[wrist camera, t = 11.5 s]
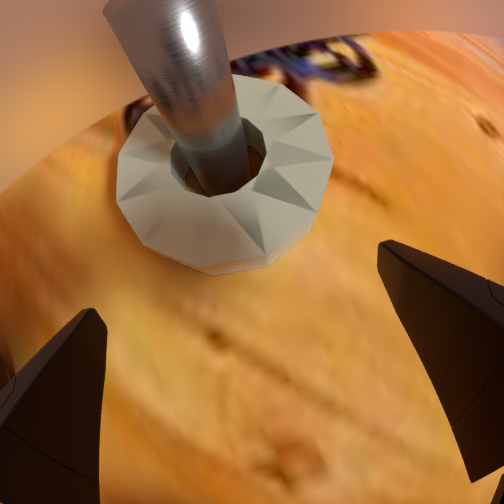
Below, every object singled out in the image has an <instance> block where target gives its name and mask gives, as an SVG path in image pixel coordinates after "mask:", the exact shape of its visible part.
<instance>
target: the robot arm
mask: <svg viewBox="0 0 504 504" xmlns="http://www.w3.org/2000/svg"><path fill="white" fill-rule="evenodd" d="M377 269H378V272H379V275H380V277H381V279H382V281H383V284H384V286H385V288H386V290H387V293H388V295H389V297H390V300H391V302H392V304H393V307H394V309H395V311H396V313H397V315H398V317H399V319H400V321H401V323H402V325H403V326H404V328H405V330H406V332H407V334H408V336H409V338H410V340H411V342H412V343H413V345H414V347H415V349H416V351H417V353H418V355H419V357H420V359H421V361H422V363H423V365H424V367H425V369H426V371H427V374H428V376H429V378H430V380H431V382H432V384H433V386H434V389H435V391H436V393H437V395H438V397H439V400H440V402H441V404H442V407H443V409H444V411H445V414H446V416H447V418H448V421H449V423H450V426H451V427H452V428H451V429H452V431H453V434H454V436H455V439H456V442H457V444H458V447H459V450H460V452H461V455H462V458H463V461H464V464H465V467H466V470H467V473H468V476H469V479H470V481H471V483H474V482H476V481H477V480H479V479H481V478H483V477H485V476H487V475H489V474H491V473H492V472H494V471H496V470H498V469H499V468H501V467H503V466H504V286H502V285H499V284H497V283H495V282H493V281H491V280H489V279H487V280H486V278H484V277H482V276H479V275H477V274H475V273H473V272H470V271H468V270H466V269H464V268H461V267H459V266H457V265H454V264H452V263H449V262H447V261H445V260H442V259H440V258H437V257H435V256H432V255H430V254H427V253H425V252H422V251H420V250H417V249H415V248H412V247H410V246H407V245H405V244H402V243H399V242H397V241H394V240H386V241H383V242H380V243H379V244H378V256H377ZM107 334H108V331H107V327H106V325H105V323H104V322H103V320H102V319H101V317H100V316H99V314H98V313H97V311H96V310H95V309H94V308H87V309H83V310H81V311H80V312H79V313H78V314H77V315H76V316H75V317H74V318H73V319H72V320H71V321H69V322H68V323H67V324H66V325H65V326H64V327H63V328H62V329H61V330H60V331H59V332H58V333H57V334H56V335H55V336H54V337H53V338H52V339H51V340H50V341H49V342H48V343H47V344H46V345H45V346H43V347H42V348H41V349H40V350H39V351H38V352H37V353H36V354H35V355H34V357H33V358H32V359H31V360H30V361H29V362H28V363H27V364H26V365H25V366H24V367H23V368H22V369H21V370H20V371H19V372H18V373H17V375H15V376H14V377H13V378H12V379H11V380H10V382H9V383H8V384H7V385H6V386H5V387H4V388H3V389H2V390H1V391H0V504H100V490H99V443H100V424H101V410H102V399H103V389H104V381H105V371H106V350H107ZM491 504H504V474H502V476H501V479H500V481H499V484H498V487H497V489H496V492H495V494H494V497H493V499H492V502H491Z"/></svg>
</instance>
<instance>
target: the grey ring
mask: <svg viewBox="0 0 504 504" xmlns="http://www.w3.org/2000/svg"><path fill="white" fill-rule="evenodd" d="M232 78H233V83H234V88H235V93H236V98H237V102H238V107H239V112H240V117H241V122H242V127H243V132H244V138H245V143H246V145H249V146H251V147H253V148H254V149H255V150H256V151H257V152H258V153H259V154H260V155H261V156H262V157H263V158H264V159H265V160H264V162H263V164H262V167H261V169H260V171H259V174H258V176H256V177H255V178H254V179H252V180H251V181H250V182H248V183H247V184H246V185H244V186H243V187H242V188H241V189H239V190H238V191H237V192H234V193H228V194H223V195H218V196H213V197H206V196H202V195H199V194H196V193H193V192H189V191H186V179H185V175H186V173H187V171H188V169H189V167H190V165H189V164H188V162H187V160H186V158H185V157H184V155H183V153H182V152H181V150H180V148H179V146H178V145H177V143H176V141H175V139H174V138H173V136H172V134H171V133H170V131H169V129H168V127H167V126H166V124H165V122H164V120H163V119H162V117H161V115H160V113H159V112H158V110H157V108H156V106H155V105H154V106H153V107H151V108H150V109H149V110H147V111H146V112H144V113H143V115H142V116H141V118H140V119H139V121H138V123H137V124H136V126H135V127H134V129H133V131H132V132H131V134H130V135H129V137H128V139H127V140H126V142H125V144H124V146H123V147H122V149H121V151H120V153H119V154H118V167H117V188H116V203H117V204H118V206H119V208H120V209H121V211H122V213H123V214H124V216H125V218H126V219H127V221H128V223H129V224H130V226H131V227H132V229H133V230H134V232H135V234H136V235H137V237H138V238H139V240H140V241H141V243H142V245H144V246H146V247H147V248H149V249H151V250H153V251H155V252H157V253H158V254H160V255H162V256H164V257H166V258H169V259H171V260H174V261H176V262H179V263H181V264H184V265H186V266H189V267H191V268H194V269H196V270H199V271H201V272H204V273H206V274H209V275H211V276H213V275H219V274H225V273H231V272H237V271H243V270H249V269H255V268H261V267H267V266H269V265H270V264H271V263H273V262H274V261H275V260H276V259H277V258H279V257H280V256H281V255H282V254H283V253H285V252H286V251H287V250H288V249H289V248H291V247H292V246H293V245H294V244H295V243H297V242H298V241H299V240H300V239H301V238H303V237H304V236H305V235H306V234H307V233H309V232H310V231H311V229H312V226H313V224H314V221H315V218H316V216H317V213H318V210H319V207H320V204H321V201H322V198H323V195H324V192H325V188H326V185H327V182H328V179H329V175H330V172H331V169H332V166H333V162H334V156H333V153H332V150H331V147H330V144H329V141H328V138H327V135H326V133H325V130H324V127H323V124H322V121H321V119H320V116H319V113H318V112H317V111H316V110H314V109H313V108H312V107H311V106H309V105H308V104H307V103H306V102H304V101H303V100H302V99H301V98H299V97H298V96H297V95H295V94H294V93H293V92H291V91H290V90H289V89H287V88H286V87H285V86H283V85H282V84H280V83H276V82H271V81H267V80H262V79H257V78H251V77H246V76H240V75H233V74H232Z"/></svg>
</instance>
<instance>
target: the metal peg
mask: <svg viewBox="0 0 504 504" xmlns="http://www.w3.org/2000/svg"><path fill="white" fill-rule="evenodd" d="M103 14H104V16H105V17H106V19H107V21H108V23H109V25H110V26H111V28H112V30H113V32H114V34H115V36H116V37H117V39H118V41H119V43H120V44H121V46H122V48H123V50H124V51H125V53H126V55H127V57H128V59H129V61H130V62H131V64H132V66H133V68H134V69H135V71H136V73H137V75H138V76H139V78H140V80H141V82H142V84H143V85H144V87H145V89H146V91H147V92H148V94H149V96H150V98H151V99H152V101H153V103H154V105H155V106H156V108H157V110H158V112H159V113H160V115H161V117H162V119H163V120H164V122H165V124H166V126H167V127H168V129H169V131H170V133H171V134H172V136H173V138H174V139H175V141H176V143H177V145H178V146H179V148H180V150H181V152H182V153H183V155H184V157H185V158H186V160H187V162H188V164H189V165H190V167H191V169H192V171H193V172H194V174H195V176H196V177H197V179H198V181H199V183H200V184H201V186H202V188H203V189H204V191H205V192H206V193H207V194H208V195H209V196H210V197H213V196H218V195H223V194H228V193H234V192H237V191H238V190H239V189H241V188H242V187H243V186H244V185H246V184H247V183H248V182H250V181H251V175H252V174H251V168H250V163H249V158H248V153H247V148H246V143H245V138H244V132H243V127H242V122H241V117H240V112H239V107H238V102H237V98H236V93H235V88H234V83H233V78H232V73H231V68H230V63H229V59H228V54H227V49H226V45H225V40H224V35H223V30H222V26H221V21H220V16H219V12H218V8H217V3H216V0H110V1H109V2H108V3H107V4H106V5H105V7H104V9H103Z"/></svg>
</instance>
